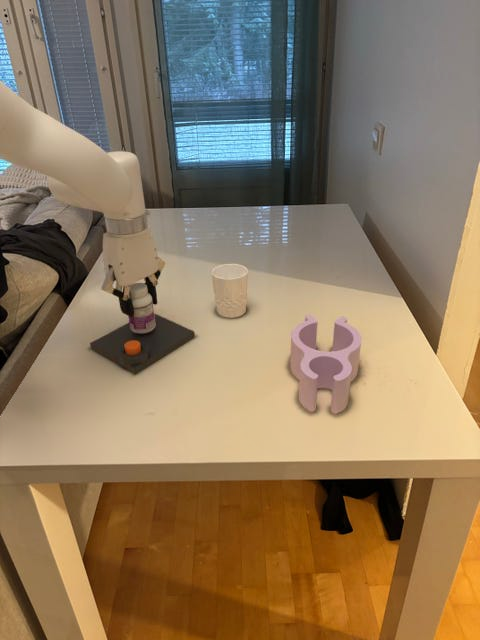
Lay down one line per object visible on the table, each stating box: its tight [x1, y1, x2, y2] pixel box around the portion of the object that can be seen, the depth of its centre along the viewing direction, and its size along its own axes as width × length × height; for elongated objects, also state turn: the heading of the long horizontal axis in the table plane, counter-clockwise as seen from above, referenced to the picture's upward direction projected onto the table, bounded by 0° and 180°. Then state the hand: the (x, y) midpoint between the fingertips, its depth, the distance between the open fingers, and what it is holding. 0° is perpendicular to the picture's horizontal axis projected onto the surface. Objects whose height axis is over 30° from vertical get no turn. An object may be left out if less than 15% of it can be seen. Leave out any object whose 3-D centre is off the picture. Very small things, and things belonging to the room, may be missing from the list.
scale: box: [89, 312, 196, 375], centre depth 95 cm, size 16×14×3 cm
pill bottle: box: [127, 282, 156, 334], centre depth 95 cm, size 5×5×10 cm
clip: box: [289, 314, 362, 415], centre depth 84 cm, size 20×12×7 cm, turn 171°
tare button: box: [124, 340, 141, 355], centre depth 89 cm, size 3×3×2 cm
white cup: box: [211, 263, 249, 319], centre depth 104 cm, size 8×8×10 cm
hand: (139, 307), depth 95 cm, fingers closed on pill bottle, 5 cm apart
